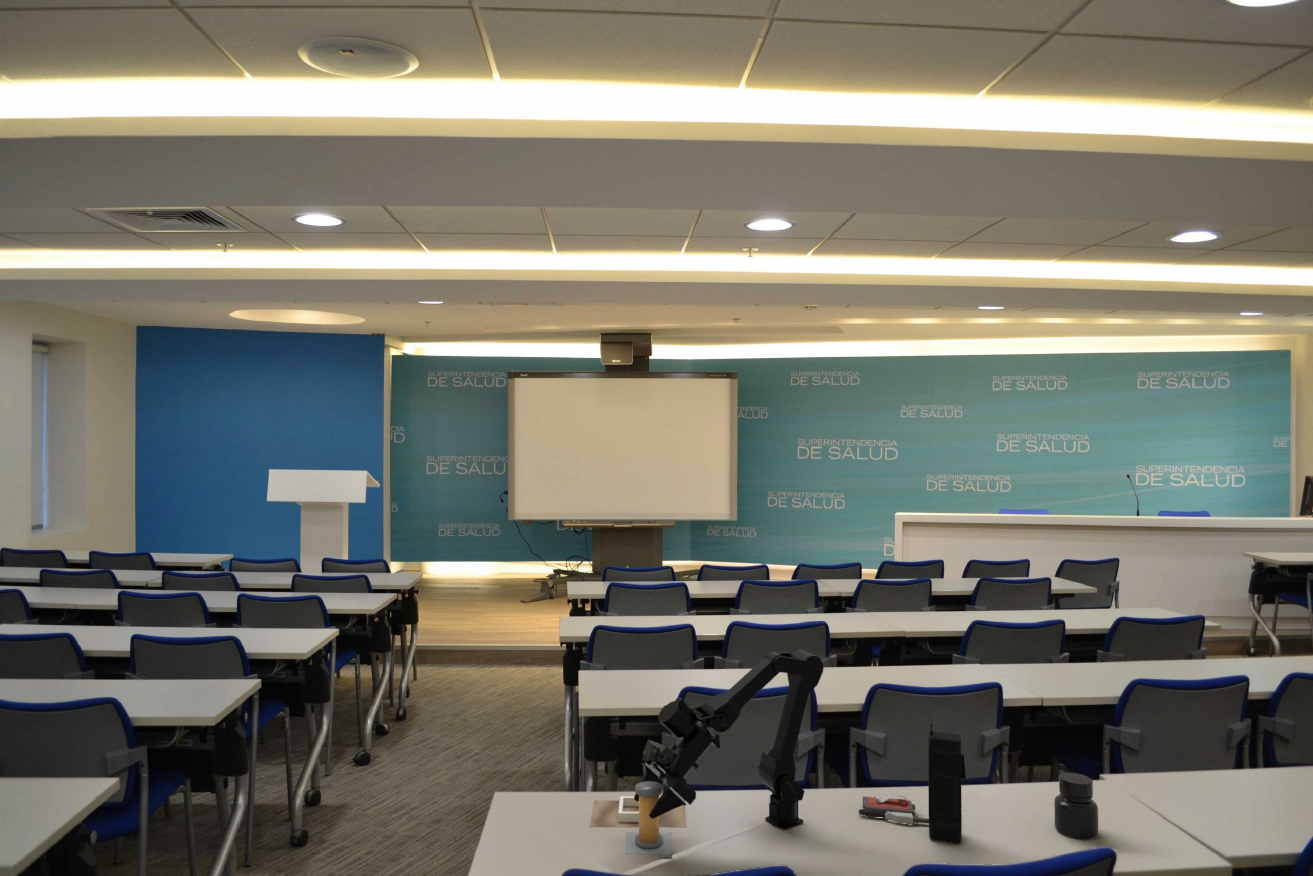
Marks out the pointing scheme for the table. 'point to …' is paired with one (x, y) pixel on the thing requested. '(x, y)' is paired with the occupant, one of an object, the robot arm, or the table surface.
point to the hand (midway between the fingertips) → (642, 808)
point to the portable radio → (945, 786)
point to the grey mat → (664, 849)
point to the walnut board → (608, 811)
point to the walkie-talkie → (891, 809)
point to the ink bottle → (1076, 807)
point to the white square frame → (627, 815)
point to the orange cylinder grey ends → (647, 825)
